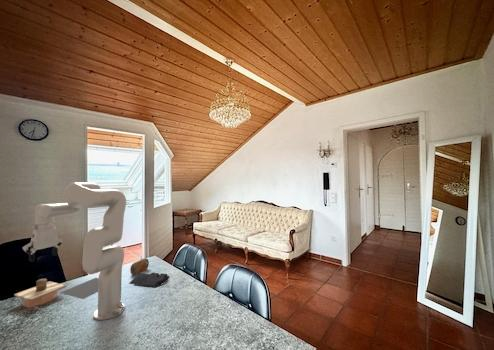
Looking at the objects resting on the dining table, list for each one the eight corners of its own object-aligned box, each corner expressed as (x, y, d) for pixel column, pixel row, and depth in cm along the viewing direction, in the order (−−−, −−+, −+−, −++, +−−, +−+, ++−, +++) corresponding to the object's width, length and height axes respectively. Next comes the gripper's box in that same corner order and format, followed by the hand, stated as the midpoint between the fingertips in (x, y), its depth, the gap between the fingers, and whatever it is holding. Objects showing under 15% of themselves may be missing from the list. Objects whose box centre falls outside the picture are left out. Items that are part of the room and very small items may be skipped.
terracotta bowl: (61, 296, 115) (61, 287, 116) (32, 309, 104) (33, 298, 104) (47, 293, 120) (48, 284, 120) (19, 304, 108) (19, 294, 108)
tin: (132, 277, 139) (133, 264, 140) (129, 276, 140) (129, 264, 141) (149, 268, 154) (149, 256, 154) (145, 268, 155) (145, 256, 155)
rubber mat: (117, 283, 131) (117, 282, 131) (83, 299, 112) (83, 298, 112) (95, 278, 138) (95, 277, 138) (59, 293, 119) (59, 292, 119)
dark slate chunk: (142, 275, 143) (142, 268, 143) (171, 277, 139) (171, 270, 139) (125, 286, 128) (126, 278, 128) (157, 289, 124) (158, 281, 124)
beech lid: (66, 286, 117) (66, 276, 117) (31, 301, 102) (31, 289, 103) (49, 282, 122) (50, 272, 122) (14, 295, 108) (14, 284, 108)
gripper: (27, 230, 104) (26, 264, 104) (67, 224, 121) (66, 253, 120) (19, 229, 107) (18, 263, 106) (59, 223, 123) (58, 252, 123)
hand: (43, 258), depth 113 cm, fingers open, 9 cm apart
